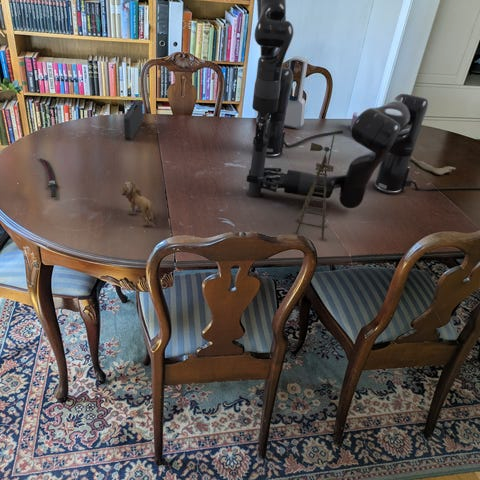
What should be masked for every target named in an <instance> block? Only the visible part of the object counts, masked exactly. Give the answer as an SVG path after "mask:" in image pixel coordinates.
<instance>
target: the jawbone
mask: <svg viewBox="0 0 480 480" xmlns="http://www.w3.org/2000/svg"><path fill="white" fill-rule="evenodd" d="M410 161H412V162H414V163H415V164H416V165H418V166H419V167H420V168H421V169H423V170H425V171H427V172H431V173H433V174H435V175H438V176H442V175H444V174H446V173H447V174H448V175H450V174H452V171H453V170H457V168H456V167H454V166H444V167H434V166H433V165H430V164H427V163H426V162H424V161H423V160H418V159H416V158H414V156H413V155H412V156H411V159H410Z"/></svg>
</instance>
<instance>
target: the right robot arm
mask: <svg viewBox="0 0 480 480" xmlns="http://www.w3.org/2000/svg"><path fill="white" fill-rule="evenodd" d="M428 106H429V100H428V99H427V98H426V97H422V96H417V95H413V94H408V93H400V94H398V95H396V96H395V97H394V98H393V99H392V100H391V101H390V102H387V103H385V104H382V105H381V106H378V107H369V108H367V109H365V110H363V111H362V112H361V113H360V114H359V115H358V117H357V119H356V120H355V122H354V123H353V126H352V129H350V135H351V139H352V140H354V141H355V142H356V143H357V144H359V145H361V146H362V147H364V148H366V149H367V150H369V151H370V152H368V153H363V154H360V155H359V156H357V157H355V158H354V159H353V160H352V161H351V162H350V163H349V166H348V169H347V171H346V174H343V175H333V176H327V180H326V187H327V189H326V199H329V198H331V196H332V195H333V192H334V190H336V189H339V198H338V199H339V203H340V204H341V206H342V207H344V208H347V209H355V208H358V207H359V206H360V205H361V204H362V202H363V200H364V197H365V193H366V189H367V186H368V184H369V182H370V180H371V177H372V176H373V173H374V172H375V171H376V169H377V168H378V167H379V169H378V172H377V175H376V179H375V182H374V188H375V189H376V190H378V191H379V192H381V193H384V194H388V195H398V194H400V193H401V192H402V193H403V192H404V190H405V187H406V188H408V187H409V188H410V187H411V186H412V184H413V185H414V187H415V189H416V190H417V191H424V192H425V191H428V192H429V191H441V190H442V191H444V190H480V186H479V187H478V186H450V187H449V186H447V187H430V188H420V187H418V184H417V183H416V181H414V180H413V179H411V178H410V177H409V173H410V171H411V166H410V161H411V156H412V157H413V152H414V149H415V147H416V142H417V140H418V136H419V133H420V130H421V127H422V125H423V122H424V119H425V116H426V113H427V111H428ZM408 126H409V127H408ZM407 127H408V128H407ZM250 171H251V168H250V169H249V171H248V174H247V175H246V182H247V183H249V182H251V183H258V185H259V187H260V188H262V189H263V190H266V191H269V192H273V193H276V192H277V190H278V189H283V192H284V194H290V195H297V196H302V197H308V193H309V192H310V190H311V186H312V185H313V182H314V178H316V173H311V172H307V171H300V170H295V169H288V170H287V171H286V173H284V172H282V168H280V167H264V174H263V177H259V176H253V175H250ZM319 178H324V175H319ZM316 185H317V186H323V187H324V180H321V179H318V180H317V183H316ZM313 192H318V193H324V188H320V187H315V188H314V191H313ZM311 197H312V198H318V199H323V197H324V195H321V194H315V193H313V194H312V196H311Z"/></svg>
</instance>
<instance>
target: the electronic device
mask: <svg viewBox="0 0 480 480" xmlns="http://www.w3.org/2000/svg"><path fill="white" fill-rule="evenodd" d="M296 62H297V63H301V68H300V74H299V81H298V87H297V94H296V96H294V95H292V94H291V93H292V91H291V92H290V98H289V103H288V106H287V109H286V116H285V123H284V128H289V129H294V130H295V129H296V130H300V129H301V128H302V126H303V125H304V124H305V114H306V113H305V112H306V100H305V98H304V97H303V96H304V95H303V94H304V87H305V82H306V75H307V69H308V63H309V59H308V58H307V57H305V56H301V55H296V56H292V57H291V58H290V59H289V62H288V69H291V70H292V73H293V75H294V73H295V68H296V67H295V66H296Z"/></svg>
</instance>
